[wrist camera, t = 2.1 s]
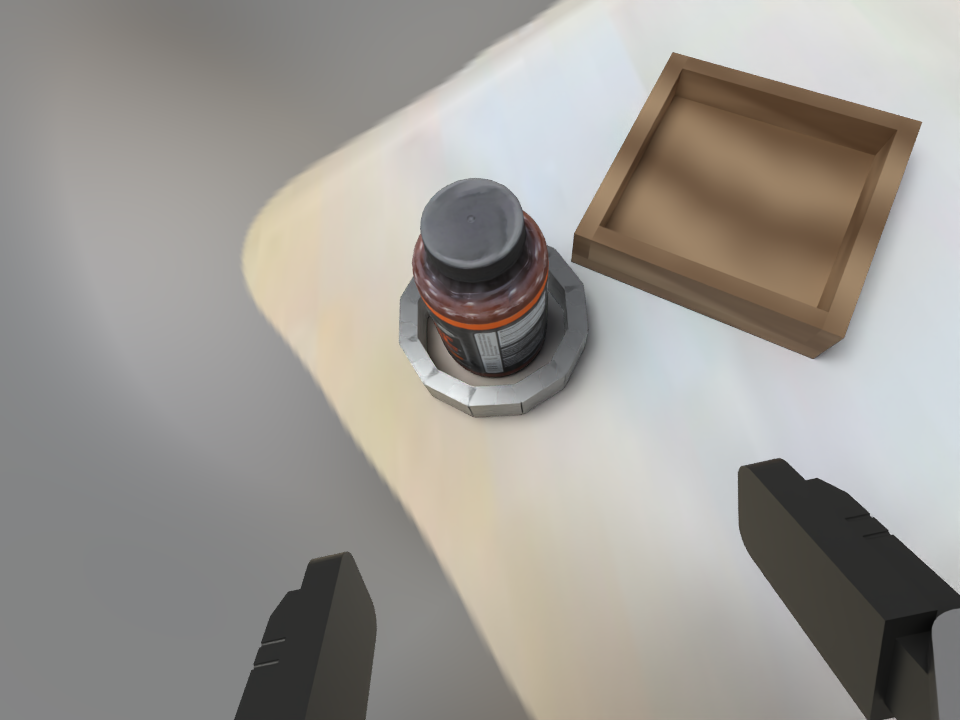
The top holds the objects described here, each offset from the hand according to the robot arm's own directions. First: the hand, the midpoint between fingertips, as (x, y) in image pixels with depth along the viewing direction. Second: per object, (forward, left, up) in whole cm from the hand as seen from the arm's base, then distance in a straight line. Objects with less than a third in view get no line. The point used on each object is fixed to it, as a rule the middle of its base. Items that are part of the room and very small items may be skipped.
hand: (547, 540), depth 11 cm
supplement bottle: (-9, -8, -17) cm, 20 cm away
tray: (-22, +1, -17) cm, 28 cm away
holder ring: (-9, -8, -17) cm, 20 cm away
